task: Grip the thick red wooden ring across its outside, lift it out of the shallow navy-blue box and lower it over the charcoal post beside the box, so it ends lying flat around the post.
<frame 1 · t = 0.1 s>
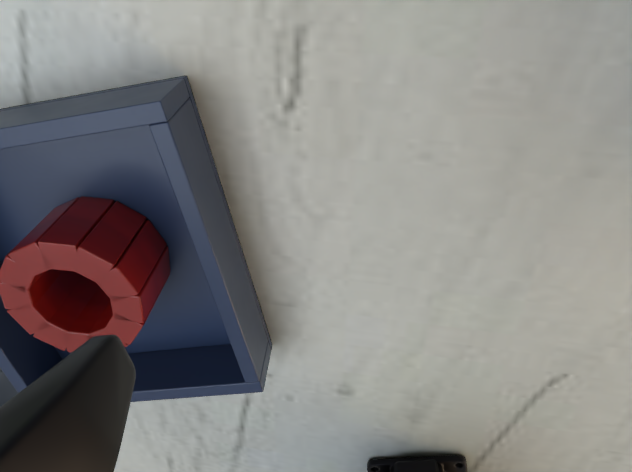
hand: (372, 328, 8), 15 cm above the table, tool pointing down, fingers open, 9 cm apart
ring: (107, 252, 26), resting on box
box: (111, 248, 26), on the table
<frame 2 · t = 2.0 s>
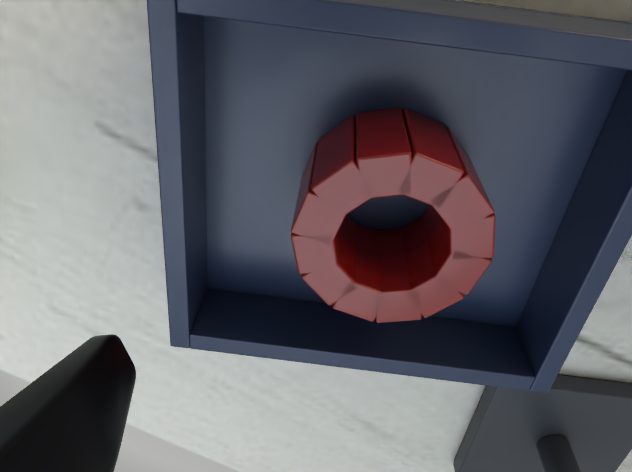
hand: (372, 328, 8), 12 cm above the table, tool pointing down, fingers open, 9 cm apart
ring: (385, 189, 20), resting on box
ring stand: (546, 427, 27), on the table
box: (385, 184, 20), on the table
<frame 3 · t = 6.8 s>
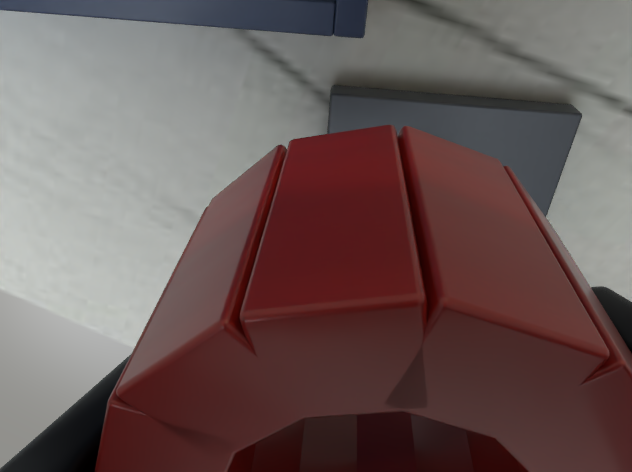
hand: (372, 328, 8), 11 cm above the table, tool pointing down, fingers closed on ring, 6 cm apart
ring: (369, 296, 9), point 10 cm above the table, touching gripper
ring stand: (429, 199, 19), on the table
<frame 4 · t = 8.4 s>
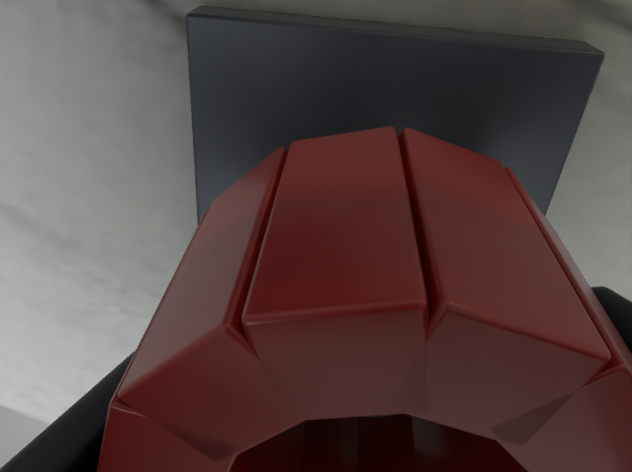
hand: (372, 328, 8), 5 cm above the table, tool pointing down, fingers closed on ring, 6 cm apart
ring: (369, 298, 9), point 4 cm above the table, touching gripper
ring stand: (366, 194, 13), on the table
when the fingers open (2 cm above the table, at t = 9.8 s): ring stays where it is, resting on ring stand.
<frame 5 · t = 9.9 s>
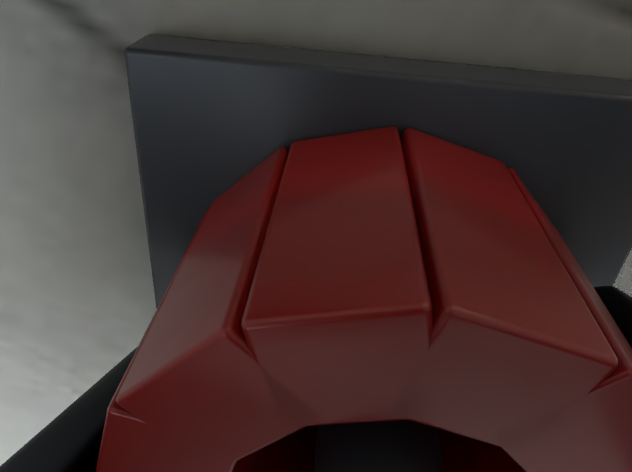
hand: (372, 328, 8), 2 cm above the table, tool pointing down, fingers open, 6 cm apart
ring: (371, 299, 9), point 1 cm above the table, touching ring stand
ring stand: (370, 267, 10), on the table
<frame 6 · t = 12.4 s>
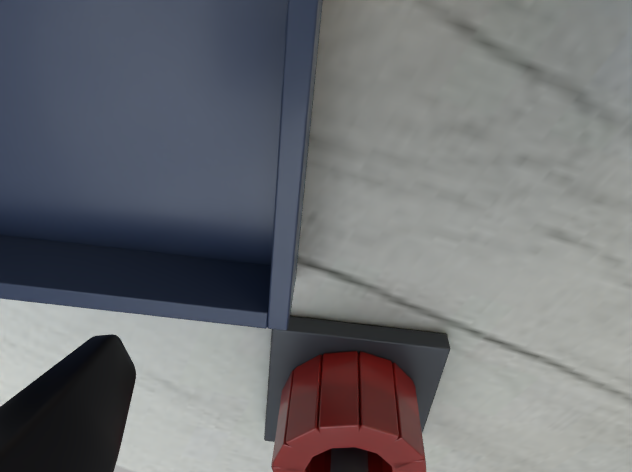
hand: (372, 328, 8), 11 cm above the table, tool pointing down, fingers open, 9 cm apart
ring: (349, 398, 25), point 1 cm above the table, touching ring stand
ring stand: (349, 383, 25), on the table
box: (97, 105, 18), on the table
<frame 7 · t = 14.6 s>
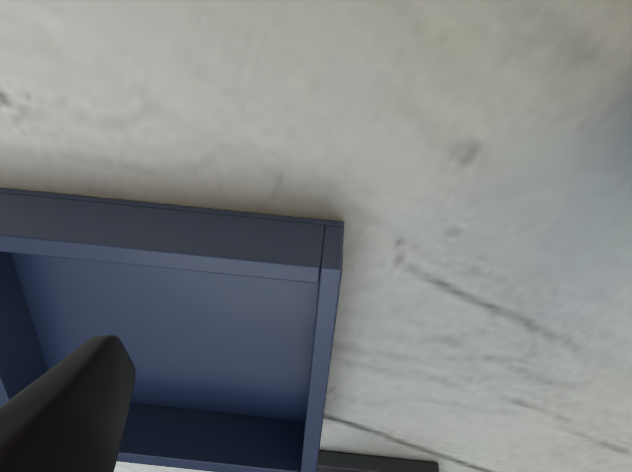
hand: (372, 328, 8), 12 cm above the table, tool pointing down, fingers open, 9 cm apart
box: (173, 322, 25), on the table
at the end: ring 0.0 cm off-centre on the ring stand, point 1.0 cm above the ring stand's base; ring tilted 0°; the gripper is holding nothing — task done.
